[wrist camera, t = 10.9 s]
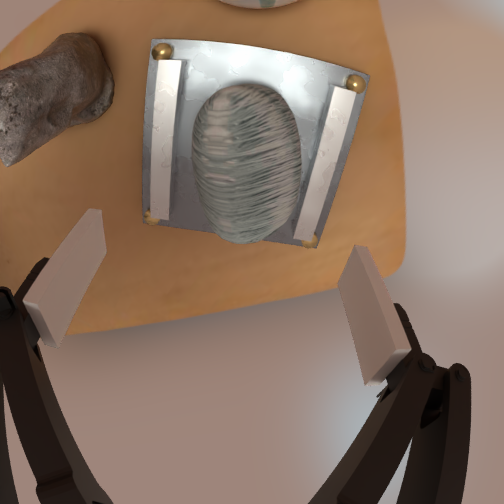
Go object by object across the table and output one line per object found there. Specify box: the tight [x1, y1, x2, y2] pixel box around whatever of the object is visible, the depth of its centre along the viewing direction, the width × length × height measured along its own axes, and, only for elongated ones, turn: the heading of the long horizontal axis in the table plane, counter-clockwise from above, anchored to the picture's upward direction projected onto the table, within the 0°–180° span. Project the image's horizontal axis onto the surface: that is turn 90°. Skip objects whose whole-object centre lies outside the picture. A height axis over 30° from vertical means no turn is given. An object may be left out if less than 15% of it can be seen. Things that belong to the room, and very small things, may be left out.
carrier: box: [142, 39, 370, 249], centre depth 27 cm, size 20×20×3 cm
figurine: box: [0, 33, 114, 167], centre depth 16 cm, size 13×12×18 cm
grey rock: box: [192, 84, 302, 244], centre depth 25 cm, size 14×10×10 cm
